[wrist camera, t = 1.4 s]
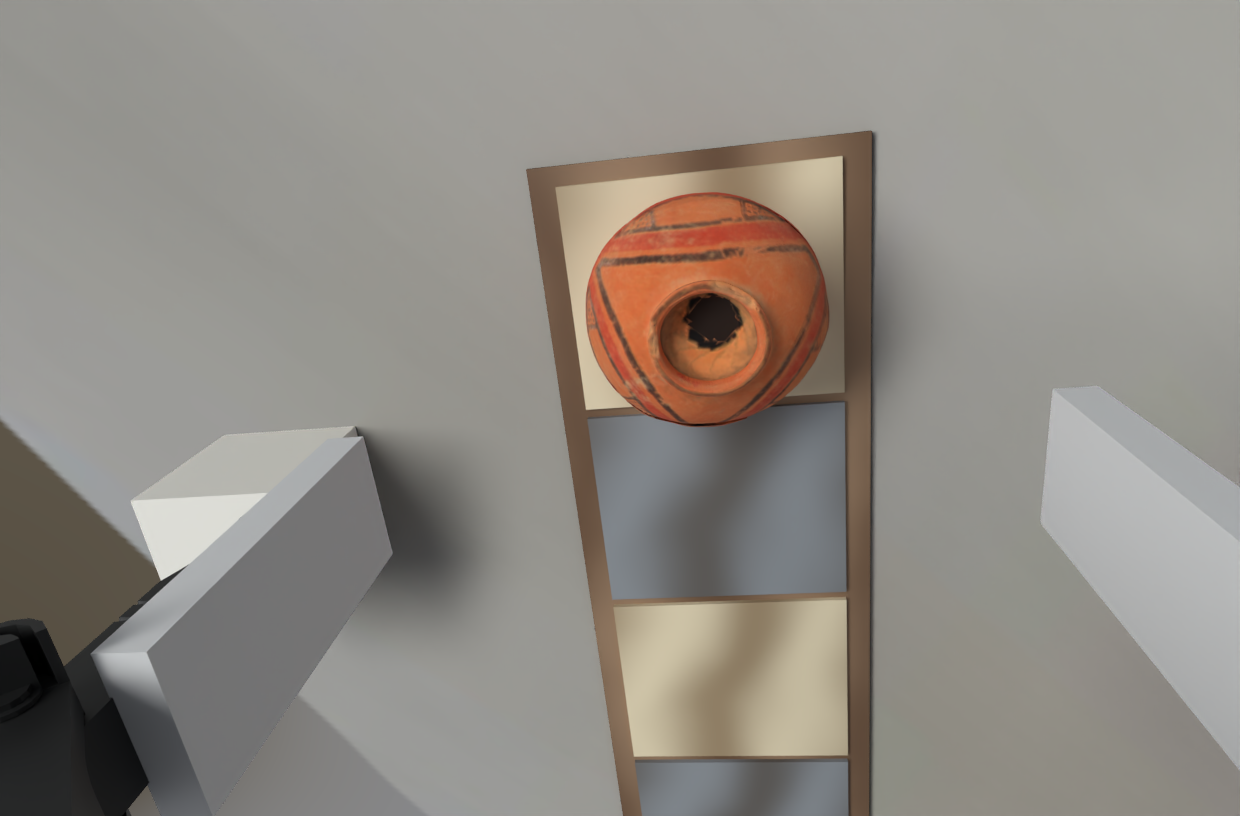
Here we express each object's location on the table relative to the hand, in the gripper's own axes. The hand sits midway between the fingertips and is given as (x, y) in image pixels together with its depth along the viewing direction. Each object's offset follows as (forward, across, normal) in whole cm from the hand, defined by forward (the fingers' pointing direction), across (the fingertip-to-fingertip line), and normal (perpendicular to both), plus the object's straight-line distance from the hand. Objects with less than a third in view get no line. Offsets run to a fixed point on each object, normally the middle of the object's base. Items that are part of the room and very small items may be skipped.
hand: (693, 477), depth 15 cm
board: (+15, 0, -13) cm, 20 cm away
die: (+16, -18, -7) cm, 25 cm away
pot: (+15, 0, 0) cm, 15 cm away
